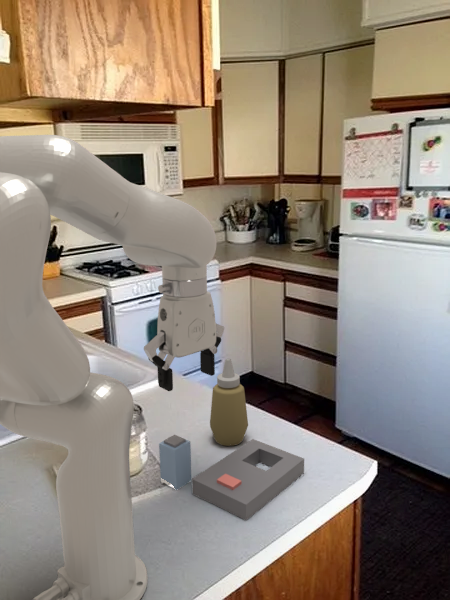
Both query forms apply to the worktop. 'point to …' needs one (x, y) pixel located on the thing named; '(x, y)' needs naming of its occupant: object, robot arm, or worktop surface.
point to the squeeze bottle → (228, 408)
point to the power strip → (248, 478)
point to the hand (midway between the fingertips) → (187, 380)
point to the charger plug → (175, 461)
